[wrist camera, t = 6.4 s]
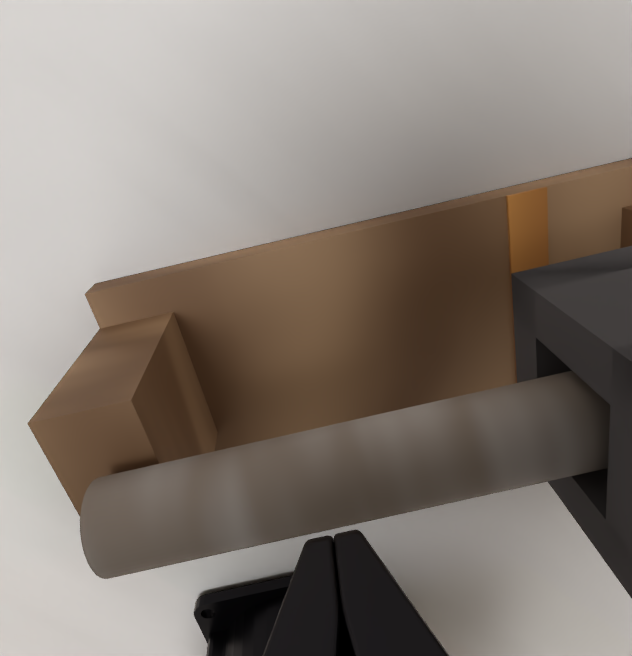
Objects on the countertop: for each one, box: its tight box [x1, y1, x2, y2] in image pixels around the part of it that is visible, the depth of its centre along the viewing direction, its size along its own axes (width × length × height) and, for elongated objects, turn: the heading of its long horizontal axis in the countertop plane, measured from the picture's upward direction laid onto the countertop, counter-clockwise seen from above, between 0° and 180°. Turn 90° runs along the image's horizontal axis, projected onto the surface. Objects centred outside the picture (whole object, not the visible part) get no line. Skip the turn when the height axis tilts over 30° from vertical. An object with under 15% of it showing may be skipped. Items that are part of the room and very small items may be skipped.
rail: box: [28, 158, 632, 579], centre depth 12 cm, size 16×6×7 cm, turn 102°
